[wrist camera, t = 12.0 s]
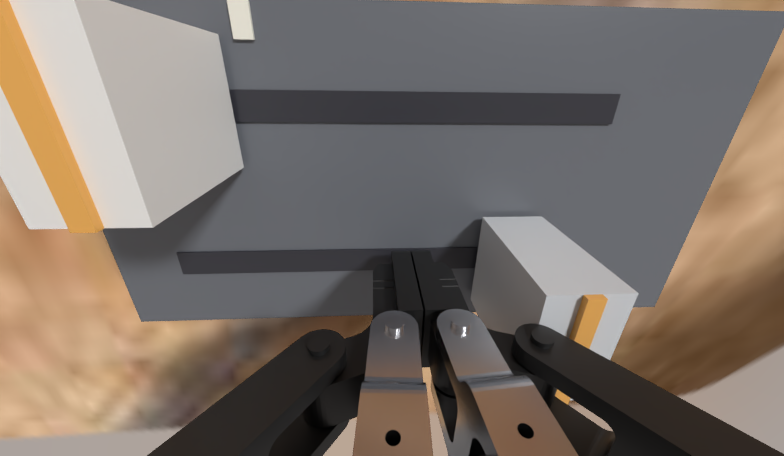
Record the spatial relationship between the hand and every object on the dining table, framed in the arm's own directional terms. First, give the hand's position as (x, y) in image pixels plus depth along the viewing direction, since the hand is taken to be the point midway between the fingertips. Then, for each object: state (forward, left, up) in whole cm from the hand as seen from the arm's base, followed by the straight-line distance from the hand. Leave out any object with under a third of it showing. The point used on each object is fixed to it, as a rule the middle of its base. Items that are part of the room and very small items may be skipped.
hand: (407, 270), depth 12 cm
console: (0, -3, -2) cm, 4 cm away
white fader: (+7, -6, -1) cm, 9 cm away
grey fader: (-4, 0, -1) cm, 4 cm away
